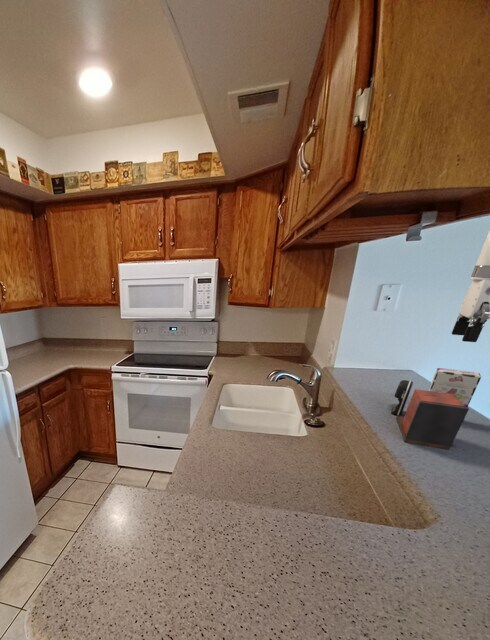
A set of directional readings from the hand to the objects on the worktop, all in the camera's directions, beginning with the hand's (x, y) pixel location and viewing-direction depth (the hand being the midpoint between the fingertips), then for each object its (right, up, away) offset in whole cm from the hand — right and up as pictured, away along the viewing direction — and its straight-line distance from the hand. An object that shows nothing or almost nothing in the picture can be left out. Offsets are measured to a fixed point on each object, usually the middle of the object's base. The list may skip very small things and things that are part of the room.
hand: (463, 338), depth 96 cm
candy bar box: (+7, -23, +17) cm, 29 cm away
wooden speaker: (-7, -28, +7) cm, 30 cm away
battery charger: (-5, -21, +21) cm, 30 cm away
